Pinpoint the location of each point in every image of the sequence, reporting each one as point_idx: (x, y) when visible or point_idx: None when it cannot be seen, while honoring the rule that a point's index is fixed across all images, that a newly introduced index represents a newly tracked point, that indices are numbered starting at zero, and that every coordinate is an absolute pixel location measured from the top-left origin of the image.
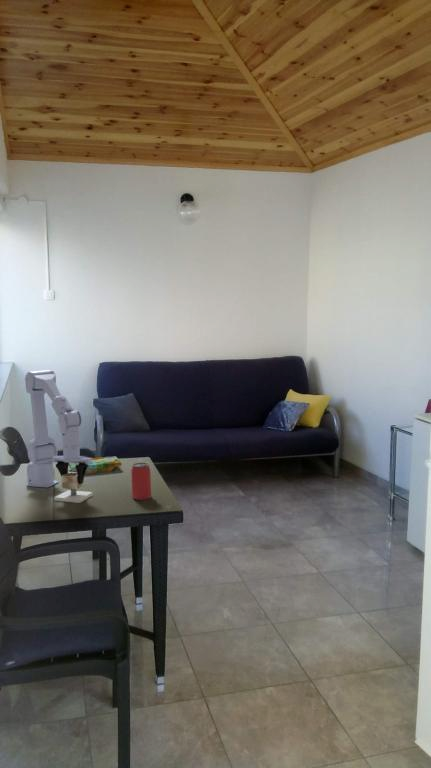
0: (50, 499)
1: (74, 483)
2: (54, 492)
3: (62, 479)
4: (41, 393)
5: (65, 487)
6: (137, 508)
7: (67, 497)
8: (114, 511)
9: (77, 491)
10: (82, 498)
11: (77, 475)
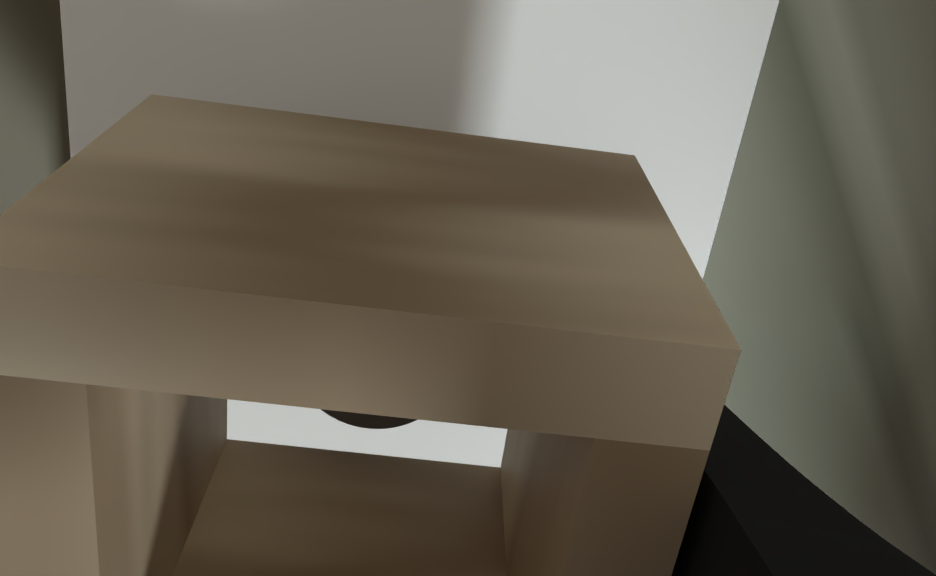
0: (880, 64)
1: (132, 156)
2: (915, 481)
3: (660, 272)
4: None
5: (520, 153)
6: None
7: (442, 22)
8: None
9: (419, 450)
10: (67, 42)
11: (13, 481)
